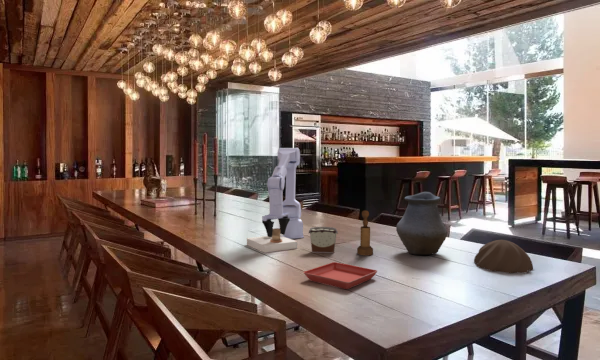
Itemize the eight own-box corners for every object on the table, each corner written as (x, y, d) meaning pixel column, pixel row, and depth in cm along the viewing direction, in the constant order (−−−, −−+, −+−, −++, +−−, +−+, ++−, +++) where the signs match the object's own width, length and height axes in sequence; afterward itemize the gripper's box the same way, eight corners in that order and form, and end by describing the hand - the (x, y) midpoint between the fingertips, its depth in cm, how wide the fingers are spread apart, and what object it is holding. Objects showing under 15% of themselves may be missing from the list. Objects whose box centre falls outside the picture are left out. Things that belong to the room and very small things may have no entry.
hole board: (278, 240, 203) (278, 234, 202) (297, 248, 187) (297, 241, 187) (246, 244, 194) (246, 238, 194) (264, 252, 179) (264, 245, 179)
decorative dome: (504, 276, 145) (505, 247, 145) (462, 262, 164) (463, 236, 163) (545, 270, 152) (546, 242, 151) (501, 257, 171) (501, 233, 170)
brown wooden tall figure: (372, 255, 173) (373, 211, 172) (356, 255, 174) (356, 211, 173) (373, 252, 180) (373, 209, 178) (357, 251, 181) (358, 209, 180)
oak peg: (276, 245, 191) (276, 227, 190) (284, 247, 187) (284, 229, 186) (267, 247, 187) (267, 229, 186) (276, 249, 183) (275, 230, 183)
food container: (338, 249, 185) (338, 226, 184) (337, 252, 178) (337, 229, 178) (309, 249, 186) (309, 226, 185) (308, 252, 180) (308, 228, 179)
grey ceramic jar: (389, 255, 174) (390, 194, 172) (403, 245, 193) (404, 190, 191) (442, 261, 164) (443, 196, 162) (451, 250, 183) (452, 192, 182)
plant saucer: (333, 270, 154) (333, 261, 154) (378, 279, 142) (378, 269, 142) (302, 281, 140) (302, 271, 140) (348, 293, 129) (348, 282, 128)
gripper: (281, 202, 194) (281, 231, 195) (257, 205, 183) (257, 236, 184) (292, 203, 189) (292, 233, 190) (268, 206, 178) (268, 238, 179)
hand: (276, 235), depth 187 cm, fingers open, 7 cm apart
